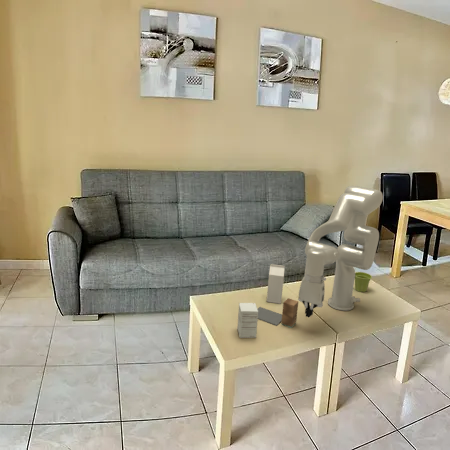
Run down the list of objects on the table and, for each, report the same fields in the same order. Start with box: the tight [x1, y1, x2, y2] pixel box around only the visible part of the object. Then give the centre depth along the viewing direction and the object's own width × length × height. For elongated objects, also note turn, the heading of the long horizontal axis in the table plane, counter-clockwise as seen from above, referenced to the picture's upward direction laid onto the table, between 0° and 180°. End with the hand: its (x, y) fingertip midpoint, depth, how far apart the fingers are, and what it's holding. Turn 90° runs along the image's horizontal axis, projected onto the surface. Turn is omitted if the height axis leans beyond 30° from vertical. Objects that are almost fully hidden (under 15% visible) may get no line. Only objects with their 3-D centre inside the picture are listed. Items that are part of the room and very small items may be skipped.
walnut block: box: [280, 298, 299, 329], centre depth 173 cm, size 5×5×11 cm
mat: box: [257, 306, 282, 327], centre depth 180 cm, size 14×10×1 cm
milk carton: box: [266, 263, 286, 304], centre depth 194 cm, size 7×7×19 cm
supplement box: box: [236, 302, 259, 339], centre depth 164 cm, size 7×7×13 cm
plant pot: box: [354, 271, 373, 293], centre depth 212 cm, size 9×9×9 cm
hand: (308, 315), depth 168 cm, fingers closed
